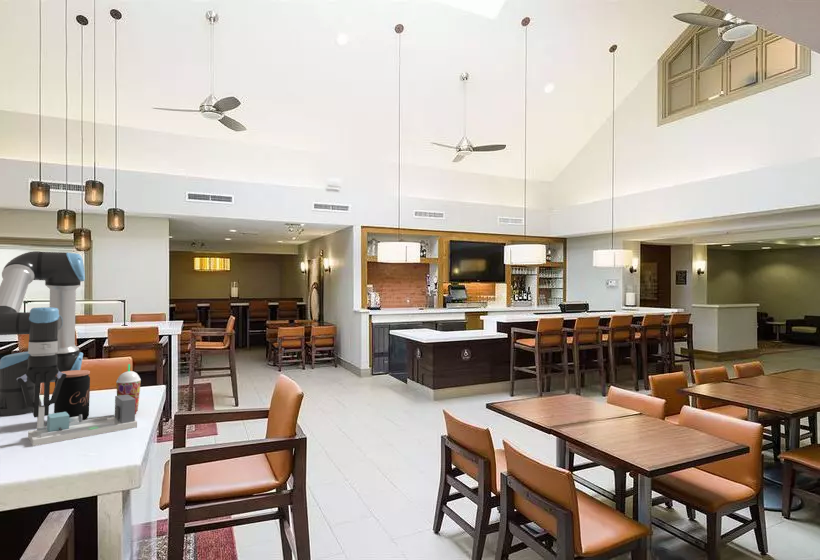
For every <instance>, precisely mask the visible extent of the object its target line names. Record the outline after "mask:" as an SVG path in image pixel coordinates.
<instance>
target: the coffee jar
mask: <svg viewBox="0 0 820 560" xmlns="http://www.w3.org/2000/svg"><path fill="white" fill-rule="evenodd" d="M62 373H65V374H66V375H67V376H66V378H65V379H64V380H63V382H62V385H61V388H60V391H59V394H58V397H57V400H56V403H53V405H54V406H53V413H60V412H67V413H68V415H69V418H70V417H77V416H79V415H80V414H82V420H85V419H86V420H88V417H89V416H90V397H91V396H90V393H91V392H90V391H91V388H90V387H91V377H90V375H91V371H90V370H88V369H80V370H72V371H64V372H62ZM56 377H57V375H56ZM57 379H58V378H57ZM57 379H56V380H55V382H54V386H55V385H56V382H57ZM75 422H76V421H75ZM69 423H70V422H69Z"/></svg>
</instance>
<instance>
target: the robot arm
mask: <svg viewBox="0 0 820 560" xmlns="http://www.w3.org/2000/svg"><path fill="white" fill-rule="evenodd" d="M85 274H86V273H85V265H84V259H83V256H81V255H80V254H79V253H73V252H64V251H63V252H60V251H59V252H57V251H35V250H34V251H28V252H25V253H22V254H19V255H17V256H16V257H14V258H13V259H11V260H9V261H8V262H7V263H6V264H5V265H4V267H3V269H2V272H1V277H2V280H1V283H0V336H7V335H8V336H12V335H13V336H14V335H28V347H27V348H28V349H27V351H23V352H18V353H16V352H15V353H11V354H7V355H4V356H3V357H1V358H0V417H1V416H3V417H5V416H16V415H17V416H18V415H23V414H28V413H32V414H33V417H34V418H37V420H36V428H40V427H45V417H47V416H48V414H50V413H49V412H50V411H49V410H50V406H51V405H54V403H56V400H57V397H58V394H59V391H60V388H61V385H62V382H63V380H64V379H65V378H66V376H67V375H66V374H65V373H62V372H64V371H72V370H82V364H83V357H84V353H83V352H81V351H80V348H79V347H78V345H76V340H75V339H76V308H77V307H76V306H77V305H76V303H77V301H76V300H77V297H76V296H77V295H76V294H77V293H76V292H77V289H78V288H79V287H80V286H81V282H85V280H86V277H85V276H86V275H85ZM33 281H44V285H45V286H46V287H47V288H48V289H49V307H48V306H47V307H43V306H42V307H32V308H31V309H30V310H29V312H21V308H22V305H23V302H24V299H25V296H26V294H27V289H28V287H29V285H30V284H31V283H32V282H33ZM56 375H57V377H56ZM57 378H58V379H57ZM56 379H57V382H56V385H55V384H54V388H53V392H52V394H50V393H51V392H50V390H51V389H50V388H51V383H55V380H56ZM41 384H43V403H42V400H41V398H40V393H41V392H40V391H41V390H40V389H41ZM50 395H51V398H50ZM42 404H43V405H42Z"/></svg>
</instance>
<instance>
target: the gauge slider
mask: <svg viewBox="0 0 820 560" xmlns="http://www.w3.org/2000/svg"><path fill="white" fill-rule="evenodd" d="M75 421H79V422H82V414H80V415H79V416H77V417H70V418H69V415H68V413H67V412H60V413H54V412H53V413H49V414H48V416H46V426H47V430H48V432H53V431H59V430H60V431H62V430H65V429H69V422H75Z"/></svg>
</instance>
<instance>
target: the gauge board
mask: <svg viewBox="0 0 820 560" xmlns="http://www.w3.org/2000/svg"><path fill="white" fill-rule="evenodd" d="M133 427H135V428H138V421H137V420H136V414H135V399H134V398H133V397H131V396H129V395H128V394H127V395H120V396H117V395H115V399H114V417H108V416H101V417H95V418H89V419H88V418H87V419H86V420H82V422H79V421H76V422H70V423H69V429H65V430H62V431H60V430H59V431H53V432H48V430H47V425H46V426H45V425H44V427H40V428H38V427H36V429H34V430H29V431H28V432H27V438H28V440H29V442H30V443H32V444H31V446H32V447H35V446H36V445H37V446H41V445H47V444H52V443H58V442H63V441H69V440H73V439H74V440H75V439H80V438H79V437H81V438H85V437H90V436H91V435H92V436H97V435H102V434H107V433H112V432H113V431H114V432H117V431H118V430H119V431H123V429H124V430H129V429H128V428H130V429H134V428H133ZM92 436H91V437H92ZM37 446H36V447H37Z"/></svg>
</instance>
